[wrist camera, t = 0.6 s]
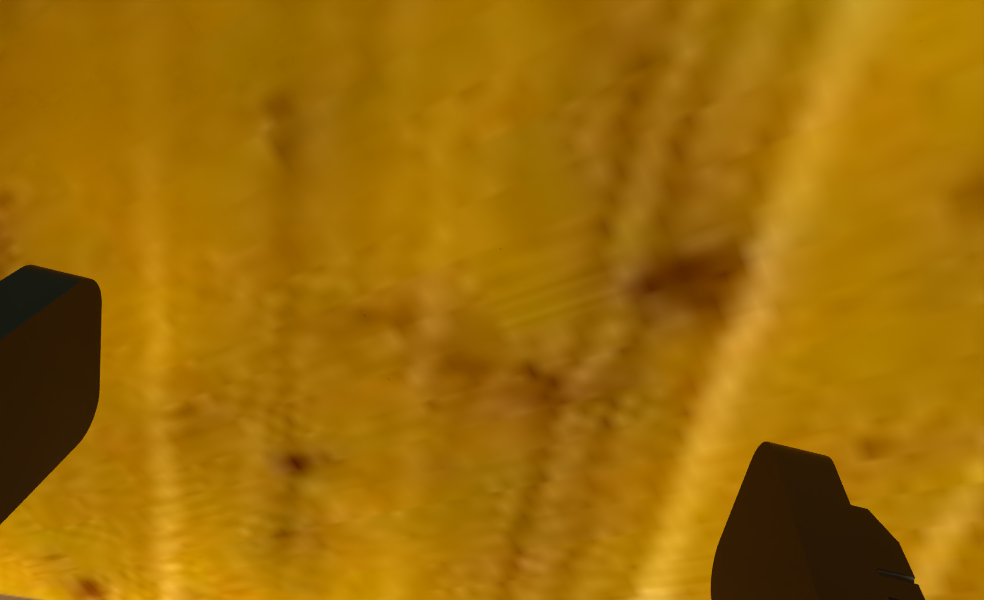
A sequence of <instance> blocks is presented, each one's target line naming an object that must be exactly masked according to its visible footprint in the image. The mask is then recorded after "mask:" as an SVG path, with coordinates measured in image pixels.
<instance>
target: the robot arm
mask: <svg viewBox="0 0 984 600" xmlns="http://www.w3.org/2000/svg"><path fill="white" fill-rule="evenodd" d="M101 308H102V299H101V291H100V288H99V286H98V284H97V283H96V282H95V281H94V280H92V279H89V278H85V277H81V276H77V275H73V274H68V273H64V272H60V271H56V270H52V269H47V268H43V267H39V266H35V265H27V266H24V267H22V268H20V269H19V270H17V271H15V272H14V273H12V274H11V275H9V276H7V277H6V278H4V279H3V280H1V281H0V524H1V523H2V522H3V521H4V520H5V519H6V518H7V517H8V516H9V515H10V514H11V513H12V512H13V511H14V510H15V509H16V508H17V507H18V506H19V505H20V504H21V503H22V502H23V501H24V500H25V499H26V498H27V496H28V495H29V494H30V493H31V492H32V491H33V490H34V489H35V488H36V487H37V486H38V485H39V484H40V483H41V482H42V481H43V480H44V479H45V478H46V477H47V476H48V475H49V474H50V473H51V472H52V471H53V470H54V469H55V468H56V467H57V465H58V464H59V463H60V462H61V461H62V460H63V459H64V458H65V457H66V456H67V455H68V454H69V453H70V452H71V451H72V450H73V449H74V448H75V447H76V446H77V445H78V444H79V443H80V441H81V440H82V439H83V437H84V436H85V434H86V433H87V431H88V429H89V427H90V425H91V423H92V420H93V418H94V415H95V412H96V409H97V404H98V399H99V390H100V349H101ZM914 579H915V577H914V574H913V572H912V570H911V568H910V566H909V563H908V561H907V559H906V557H905V555H904V553H903V550H902V548H901V546H900V544H899V542H898V541H897V540H896V539H895V538H894V537H893V536H892V535H891V534H890V533H889V532H888V530H887V529H886V528H885V527H884V526H883V525H882V524H881V523H880V522H879V521H878V520H877V519H876V518H875V516H874V515H873V514H872V513H871V512H870V511H869V510H868V509H865V508H861V507H857V506H853V505H851V504H850V502H849V500H848V497H847V495H846V492H845V490H844V487H843V485H842V482H841V480H840V477H839V475H838V473H837V470H836V468H835V465H834V463H833V461H832V459H831V458H830V457H828V456H825V455H821V454H817V453H813V452H808V451H804V450H800V449H796V448H792V447H787V446H783V445H779V444H775V443H771V442H763V443H762V444H761V445H760V446H759V447H758V448H757V450H756V451H755V453H754V455H753V458H752V460H751V462H750V465H749V467H748V470H747V472H746V475H745V477H744V480H743V483H742V485H741V488H740V490H739V493H738V495H737V498H736V500H735V503H734V505H733V508H732V510H731V513H730V515H729V518H728V521H727V523H726V526H725V528H724V531H723V533H722V536H721V538H720V541H719V544H718V546H717V550H716V553H715V558H714V562H713V568H712V576H711V599H712V600H925V598H924V596H923V594H922V592H921V590H920V587H919V585H918V584H914Z"/></svg>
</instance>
